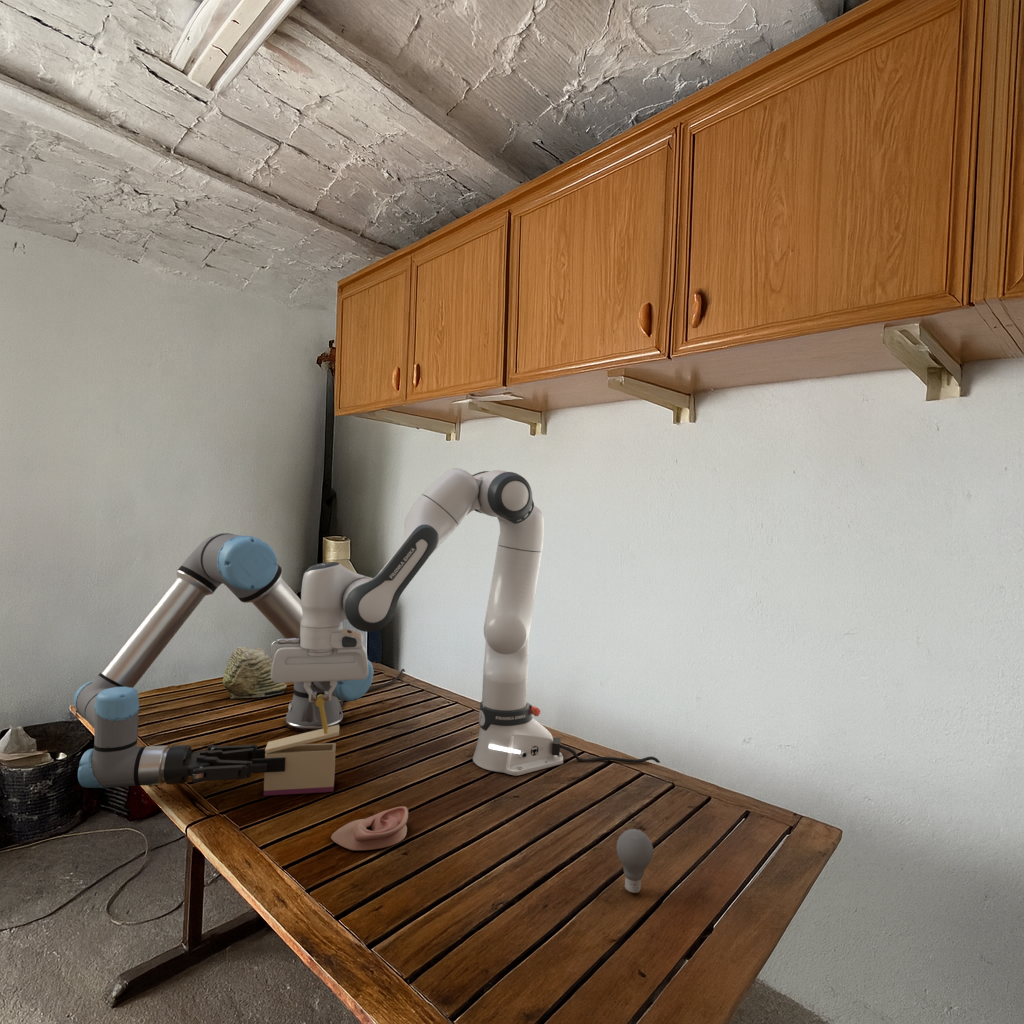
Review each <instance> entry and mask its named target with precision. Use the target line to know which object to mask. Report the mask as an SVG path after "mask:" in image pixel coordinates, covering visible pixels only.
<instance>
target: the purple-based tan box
mask: <svg viewBox="0 0 1024 1024" xmlns="http://www.w3.org/2000/svg"><path fill="white" fill-rule="evenodd" d="M336 745H337V744H336V742H328V743H307V744H303V745H299V746H295V747H291V748H287V749H283V750H279V751H275V752H271V753H265V758H283V757H285V771H284V772H265V773H264V774H263V775H264V776H263V797H266V796H267V797H269V796H282V795H283V796H284V795H299V794H300V795H301V794H316V793H317V794H319V793H333V792H334V791H335V790H334V788H335V774H336V773H335V771H336V770H335V769H336V749H337V748H336Z"/></svg>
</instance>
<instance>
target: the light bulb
mask: <svg viewBox="0 0 1024 1024" xmlns="http://www.w3.org/2000/svg"><path fill="white" fill-rule="evenodd" d="M615 849H616V854H617V857H618V859H619V861H620V863H621V865H622V867H623V873H624V874H623V875H624V876H625V878H624V888H625V890H627V891H628V892H630V893H634V894H635V893H639V892H640V891H641V889H642V887H641V886H642V879H643V877H644V875H645V871H646V868H647V867H648V866H649V864H650V863H651V861H652V859H653V855H654V847H653V843H652V841H651V838H649V836H648V835H647V834H646V833H645V832H643V831H642V830H641V829H636V828H629V829H627V830H625V831H623V832H622V833H621V834H620V835H619V837H618V839H617V841H616V847H615Z"/></svg>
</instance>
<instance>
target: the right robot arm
mask: <svg viewBox="0 0 1024 1024" xmlns="http://www.w3.org/2000/svg"><path fill="white" fill-rule="evenodd" d="M473 511H475V512H476V513H480V514H484V515H486V516H488V517H492V518H493V517H494V518H497V521H498V524H499V535H498V541H497V547H496V552H495V559H494V565H493V571H492V579H491V583H490V589H489V595H488V599H487V606H486V611H485V617H484V622H483V623H484V624H483V637H484V640H485V642H484V643H485V645H484V646H485V647H484V659H483V670H482V690H481V691H482V692H481V696H482V697H481V701H480V703H479V712H478V726H479V731H478V737H477V743H476V746H475V750H474V753H473V756H472V761H473V763H474V764H475V765H476V766H478V767H479V768H481V769H484V770H487V771H490V772H497V773H502V774H503V773H504V774H507V775H511V776H514V777H517V776H522V775H526V774H529V773H534V772H537V771H540V770H544V769H548V768H552V767H556V766H559V765H563V764H564V756H563V754H562V752H561V749H562V750H565V751H568V752H570V753H571V754H572V755H573V757H574V759H575V760H577V761H579V762H581V763H591V762H599V761H600V762H601V761H613V762H622V763H631V764H637V763H638V764H640V763H644V762H648V761H654V762H655V763H657V764H659V763H661V761H660V760H659V759H658V758H657V757H655V756H646V757H643V758H638V759H633V758H632V759H631V758H624V757H615V756H599V757H593V758H582V757H579V755H578V754H577V752H576V751H575V750H574V749H572V748H571V747H568V746H566V745H563V744H561V740H562V738H561V737H557V736H554V737H553V735H552V733H551V732H550V730H548V729H547V728H546V727H545V726H543V724H541V723H540V722H539V721H537V720H536V719H535V718H534V717H539V716H540V714H541V709H540V708H539V707H537V706H535V705H532V704H531V703H529V702H527V701H528V700H527V699H528V679H529V677H528V676H529V653H530V652H529V651H530V635H531V629H532V623H533V622H532V621H533V614H534V607H535V600H536V592H537V586H538V581H539V580H538V578H539V572H540V567H541V560H542V554H543V546H544V536H545V519H544V518H545V517H544V514H543V511H542V510H541V509H540V508H538V507H537V506H536V505H535V503H534V499H533V491H532V488H531V485H530V483H529V481H527V479H526V478H525V477H523V476H522V475H521V474H519V473H517V472H513V471H506V470H500V469H497V470H491V471H490V470H483V471H479V472H477V473H474V474H471V473H470V472H469V471H467V470H466V469H465V470H464V469H462V468H459V467H454V468H450V469H448V470H446V471H445V472H444V473H443V474H441V475H440V476H439V477H437V479H436V480H434V481H433V482H432V483H431V484H430V485H429V486H428V487H427V488H426V489H425V490H424V491H423V492H422V493H421V495H419V497H418V498H417V499H416V500H415V501H414V503H413V504H412V506H411V508H409V510H408V512H407V513H406V516H405V518H404V534H403V537H402V541H401V543H400V545H399V547H398V548H397V550H396V551H395V552H394V554H393V555H392V556H391V557H390V559H388V561H387V562H386V563H385V564H384V566H383V567H382V568H381V570H379V572H378V574H377V575H375V576H374V577H370V576H366V575H363V574H360V573H357V572H355V571H353V570H350V569H349V568H347V567H346V566H344V565H342V564H341V562H338V561H331V562H330V561H326V562H320V563H316V564H314V565H311V566H309V567H308V568H307V569H306V570H305V571H304V573H303V576H302V580H301V581H302V582H301V593H300V600H301V607H302V611H303V615H302V620H301V624H300V638H289V639H286V638H285V637H281V638H278V639H276V640H274V641H273V642H272V643H271V645H270V652H269V653H270V658H271V659H272V660H273V663H272V670H271V680H272V681H273V682H274V683H286V684H287V683H288V684H289V683H290V684H291V683H294V682H304V688H305V690H306V691H307V693H308V694H309V702H316V692H313V691H312V690H311V688H310V685H311V682H317V681H330V686H331V688H330V689H329V691H325V693H324V697H325V698H324V701H331V699H332V692H333V691H334V689H335V688H336V686H337V681H343V680H364V679H366V678H367V676H368V660H369V659H368V652H367V649H366V647H365V645H364V644H363V643H364V635H363V633H362V632H366V633H371V632H377V631H379V630H382V629H383V628H384V627H386V626H387V625H388V624H389V623H390V622H391V621H392V619H393V617H394V615H395V612H396V609H397V605H398V602H399V600H400V598H401V595H402V594H403V592H404V591H405V589H406V588H407V587H408V586H409V584H410V583H411V581H412V580H413V579H415V578H414V577H415V576H416V575H418V572H419V571H420V570H421V569H422V567H423V566H424V565H425V563H426V562H427V561H428V559H429V558H430V557H431V555H432V554H434V553H435V552H436V550H438V548H439V547H440V546H441V545H442V544H443V543H444V542H445V541H446V540H447V539H448V537H450V536H451V534H452V533H453V532H454V531H455V530H456V529H457V527H458V526H459V525H460V524H461V523H462V522H463V521H464V520H465V517H466V516H468V515H469V514H470V513H472V512H473ZM346 619H347V621H348V623H349V624H350V625H351V626H352V628H355V629H356V630H354V629H350V628H347V627H345V626H344V620H346ZM533 716H534V717H533Z"/></svg>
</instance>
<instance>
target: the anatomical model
mask: <svg viewBox="0 0 1024 1024" xmlns="http://www.w3.org/2000/svg"><path fill="white" fill-rule="evenodd" d="M408 819H409V809H408V808H407V807H406V806H405V805H404V806H402V805H401V806H396V807H393V808H389V809H386V810H382V811H381V812H378V813H376V814H373V815H371V816H369V817H365V818H360V819H356V820H352V821H350V822H348V823H345V824H344V825H343V826H341V827H339V828H337V830H335V831H334V832H333V833H332V834H331V836H330V839H331V841H333V843H336V845H338V846H339V847H342V848H344V849H347V850H350V851H357V852H359V851H371V850H379V849H383V848H388V847H392V846H394V845H396V844H399V843H400V842H402V841H403V840H404V839H405V838H406V836H407V832H408V827H407V822H408Z"/></svg>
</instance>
